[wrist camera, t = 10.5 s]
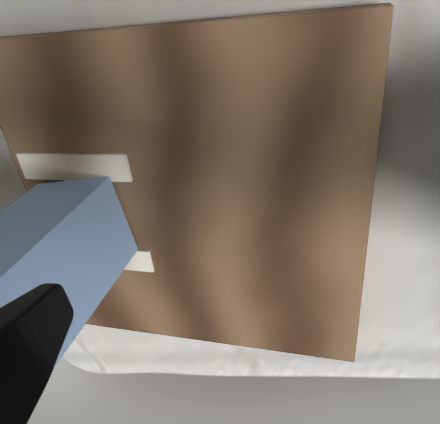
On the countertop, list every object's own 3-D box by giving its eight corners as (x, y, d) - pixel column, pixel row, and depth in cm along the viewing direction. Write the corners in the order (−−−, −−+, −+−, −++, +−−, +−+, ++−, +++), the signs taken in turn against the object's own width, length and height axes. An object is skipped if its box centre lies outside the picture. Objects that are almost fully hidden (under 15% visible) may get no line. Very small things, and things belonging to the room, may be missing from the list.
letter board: (390, 3, 16) (394, 6, 15) (354, 346, 26) (354, 364, 25) (-16, 38, 21) (-36, 43, 20) (87, 311, 31) (77, 324, 30)
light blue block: (109, 176, 22) (-110, 379, 11) (138, 249, 24) (-21, 473, 14) (38, 183, 24) (-212, 366, 13) (71, 251, 26) (-117, 452, 15)
